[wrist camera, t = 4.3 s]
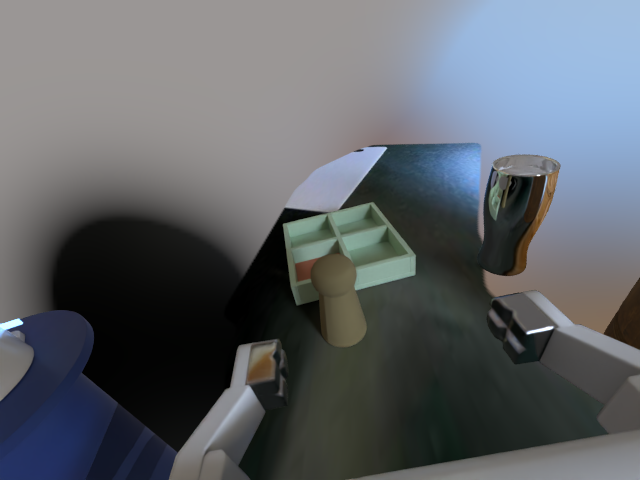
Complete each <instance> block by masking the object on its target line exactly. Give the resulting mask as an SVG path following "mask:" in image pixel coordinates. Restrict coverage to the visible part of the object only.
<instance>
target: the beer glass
mask: <svg viewBox="0 0 640 480" xmlns="http://www.w3.org/2000/svg"><path fill="white" fill-rule="evenodd" d="M559 169H560V164H559V162H557V161H556V160H554V159H551V158H548V157H543V156H538V155H511V156H506V157H502V158H499V159H497V160H495V161H494V162H493V164H492V169H491V172H490V176H489V179H488V183H487V187H486V192H485V198H484V212H483V213H484V241H483V244H482V247H481V249H480V251H479V253H478V256H477V261H478V263H479V265H480V266H481V267H482V268H483V269H485V270H486V271H488V272H490V273H493V274H497V275H502V276H513V275H517V274H520V273H521V272H523V271H524V270H525V268H526V261H527V260H526V259H527V250H528V246H529V244H530V242H531V240H532V238H533V236H534V235H535V233H536V231H537V230H538V228H539V226H540V225H541V223H542V221H543V220H544V218H545V216H546V214H547V212H548V210H549V207H550V204H551V202H552V199H553V195H554V192H555V187H556V183H557V178H558V173H559Z"/></svg>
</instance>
